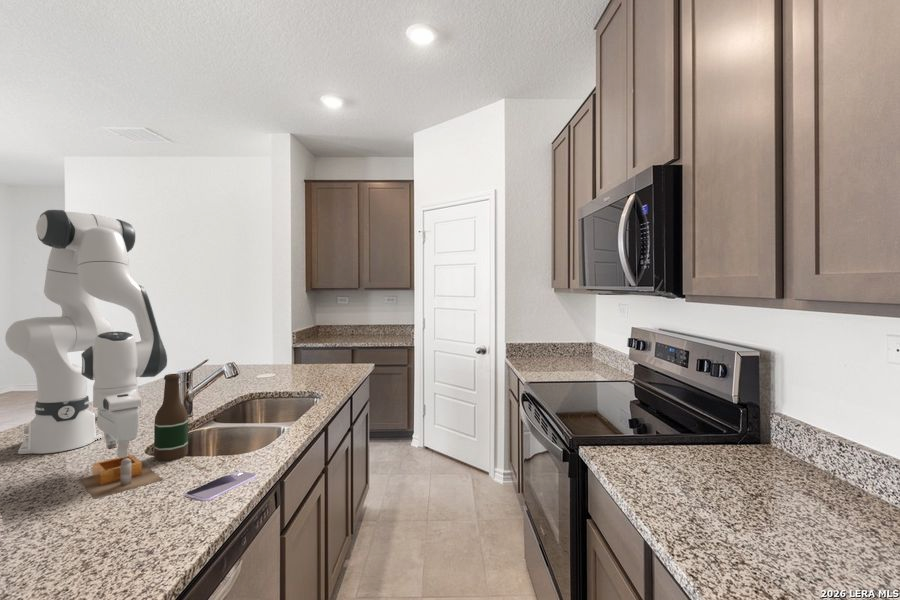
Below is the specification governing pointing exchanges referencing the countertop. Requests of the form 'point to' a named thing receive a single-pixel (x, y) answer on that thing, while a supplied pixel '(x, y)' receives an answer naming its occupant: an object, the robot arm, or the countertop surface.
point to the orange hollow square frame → (114, 469)
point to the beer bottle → (171, 424)
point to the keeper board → (116, 484)
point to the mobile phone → (220, 486)
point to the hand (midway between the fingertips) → (116, 452)
